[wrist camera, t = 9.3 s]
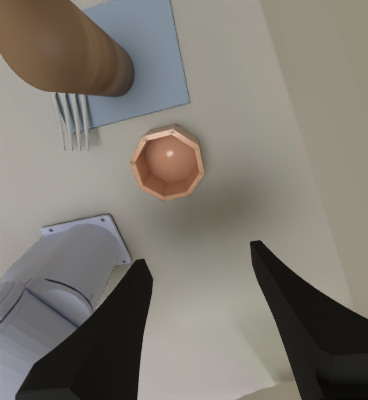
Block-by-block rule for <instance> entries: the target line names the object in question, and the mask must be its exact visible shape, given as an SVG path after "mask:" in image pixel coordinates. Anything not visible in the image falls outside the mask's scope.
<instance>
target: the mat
mask: <svg viewBox="0 0 368 400" xmlns="http://www.w3.org/2000/svg"><path fill="white" fill-rule="evenodd" d="M82 12H83V13H85V14H86V15H87V16H88V17H89V18H90V19H91V20H92V21H93V22H95V23H96V24H97V25H98V26H99V27H100V28H101V29H102V30H104V31H105V32H106V33H107V34H108V35H109V36H110V37H111V38H112V39H114V40H115V41H116V42H117V43H118V44H119V45H120V46H121V47H122V48H124V49H125V51H126V52H127V53H128V54H129V56H130V58H131V60H132V62H133V66H134V73H135V75H134V82H133V85H132V87H131V89H130V90H129V91H128V92H127V93H126V94H125V95H123V96H120V97H105V96H93V95H85V98H86V107H87V119H88V129H90V128H94V127H98V126H102V125H106V124H109V123H113V122H117V121H121V120H125V119H128V118H132V117H136V116H140V115H144V114H147V113H151V112H155V111H159V110H163V109H166V108H170V107H174V106H178V105H182V104H186V103H189V97H188V92H187V87H186V82H185V77H184V72H183V66H182V61H181V56H180V51H179V46H178V41H177V36H176V31H175V26H174V21H173V16H172V11H171V6H170V0H112V1H109V2H106V3H103V4H100V5H97V6H94V7H91V8H88V9H85V10H82ZM56 98H57V102H58V107H59V111H60V113H61V115H62V117H63V119H64V121H65V123H66V120H65V114H64V109H63V105H62V102H61V98H60V96H59V94H58V93H57V92H56ZM66 99H67V104H68V111H69V117H70V124H71V130H72V133H75V132H76V127H75V120H74V113H73V107H72V103H71V99H70V95H69V94H68V93H66ZM76 100H77V108H78V117H79V125H80V131H83V130H84V123H83V113H82V105H81V99H80V95H79V94H76Z"/></svg>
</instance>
